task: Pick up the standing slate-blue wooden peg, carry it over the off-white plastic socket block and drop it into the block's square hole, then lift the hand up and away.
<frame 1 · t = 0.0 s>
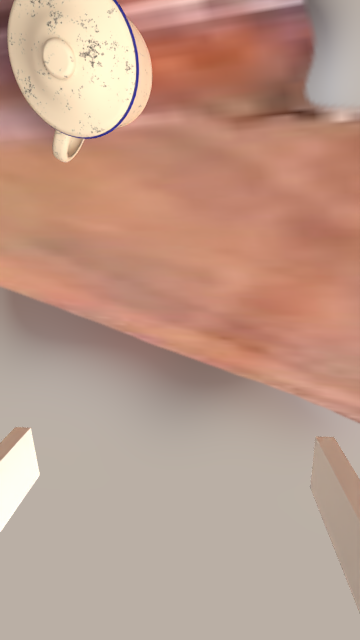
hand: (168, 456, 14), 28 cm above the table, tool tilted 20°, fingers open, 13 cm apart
teacup with lid: (101, 90, 29), on the table
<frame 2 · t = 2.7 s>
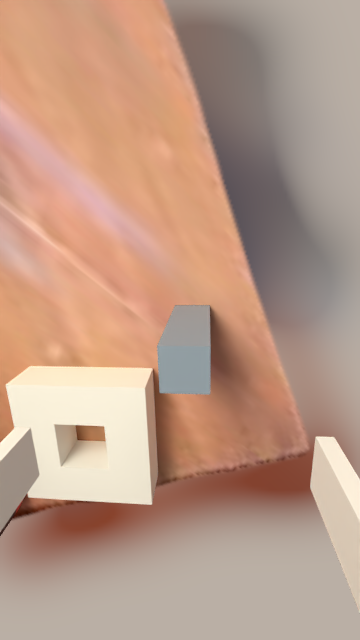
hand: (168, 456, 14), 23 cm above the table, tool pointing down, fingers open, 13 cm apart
peg: (192, 321, 36), on the table
socket block: (96, 421, 41), on the table
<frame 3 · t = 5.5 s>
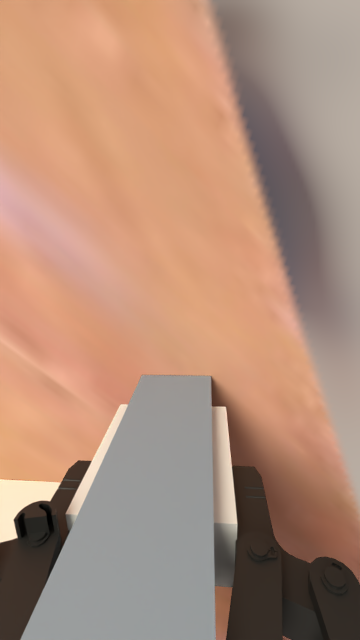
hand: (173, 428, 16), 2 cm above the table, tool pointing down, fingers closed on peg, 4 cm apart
peg: (177, 406, 18), on the table, touching gripper
socket block: (12, 564, 23), on the table
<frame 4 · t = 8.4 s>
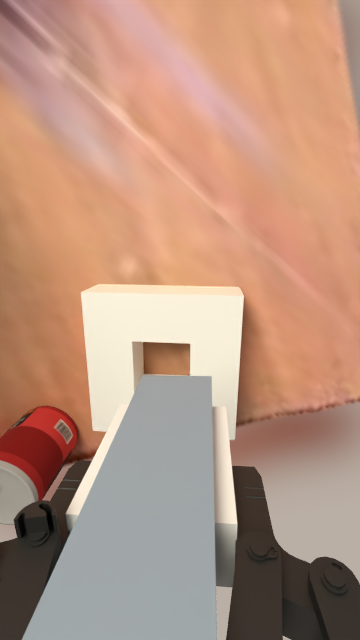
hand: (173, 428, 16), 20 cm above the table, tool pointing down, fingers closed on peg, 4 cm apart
peg: (177, 406, 18), point 18 cm above the table, touching gripper
canned food: (52, 428, 42), on the table
socket block: (167, 351, 37), on the table
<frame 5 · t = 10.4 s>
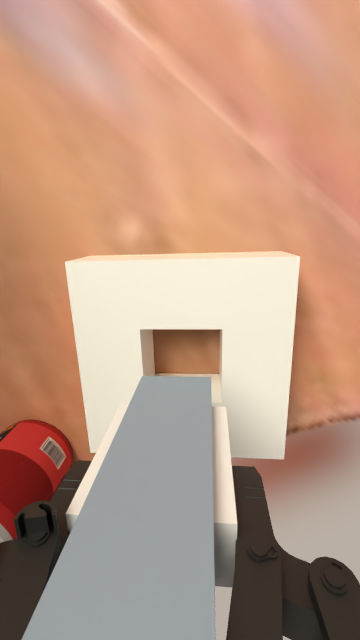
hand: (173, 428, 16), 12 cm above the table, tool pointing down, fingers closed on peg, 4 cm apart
peg: (177, 407, 18), point 10 cm above the table, touching gripper
canned food: (39, 447, 33), on the table
socket block: (186, 343, 28), on the table
when the fingers open (6 cm above the table, at t = 11.8 s): peg drops 4 cm, resting in socket block.
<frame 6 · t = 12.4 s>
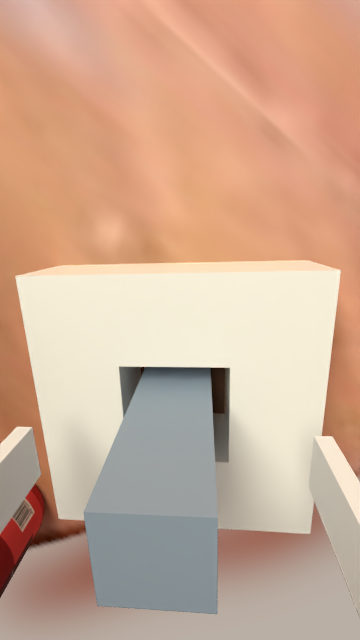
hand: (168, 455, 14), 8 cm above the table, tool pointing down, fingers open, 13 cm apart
peg: (181, 376, 22), resting in socket block
canned food: (5, 495, 27), on the table
socket block: (182, 375, 22), on the table
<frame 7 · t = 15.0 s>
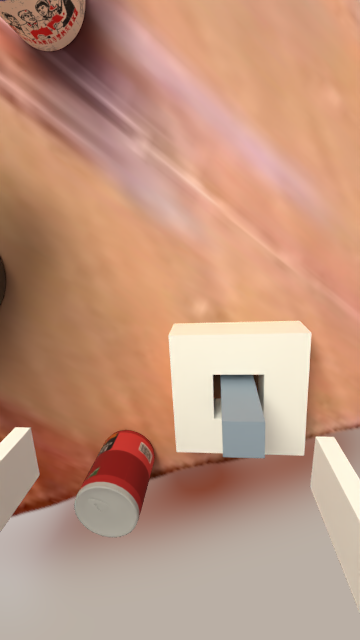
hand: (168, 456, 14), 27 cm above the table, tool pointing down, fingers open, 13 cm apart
peg: (235, 378, 42), resting in socket block
canned food: (130, 449, 47), on the table
teacup with lid: (60, 0, 33), on the table
socket block: (235, 378, 42), on the table
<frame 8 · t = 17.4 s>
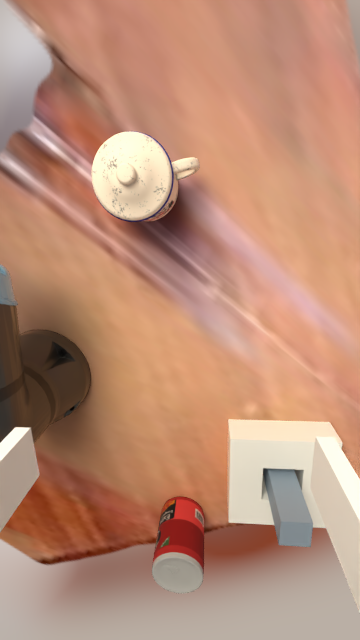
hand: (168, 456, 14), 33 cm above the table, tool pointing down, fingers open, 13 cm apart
peg: (274, 461, 52), resting in socket block
canned food: (183, 511, 57), on the table
teacup with lid: (157, 185, 42), on the table
socket block: (275, 461, 52), on the table
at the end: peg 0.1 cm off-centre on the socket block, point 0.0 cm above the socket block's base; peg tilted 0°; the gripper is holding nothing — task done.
